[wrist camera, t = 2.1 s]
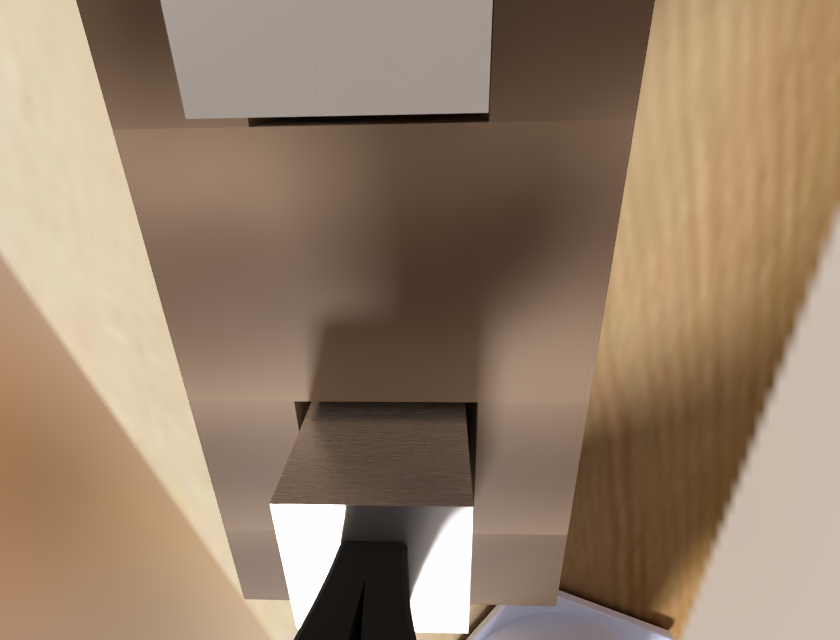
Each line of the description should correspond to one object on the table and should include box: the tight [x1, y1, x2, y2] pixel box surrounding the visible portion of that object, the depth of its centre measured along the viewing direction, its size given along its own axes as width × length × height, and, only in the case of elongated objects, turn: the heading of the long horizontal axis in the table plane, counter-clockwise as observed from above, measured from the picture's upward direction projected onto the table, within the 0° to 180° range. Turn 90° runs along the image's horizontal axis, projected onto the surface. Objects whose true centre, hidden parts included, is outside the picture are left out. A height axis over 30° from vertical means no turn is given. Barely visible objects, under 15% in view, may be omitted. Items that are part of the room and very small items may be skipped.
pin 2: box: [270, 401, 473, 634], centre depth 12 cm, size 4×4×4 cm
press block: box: [76, 0, 655, 606], centre depth 12 cm, size 22×10×4 cm, turn 1°
